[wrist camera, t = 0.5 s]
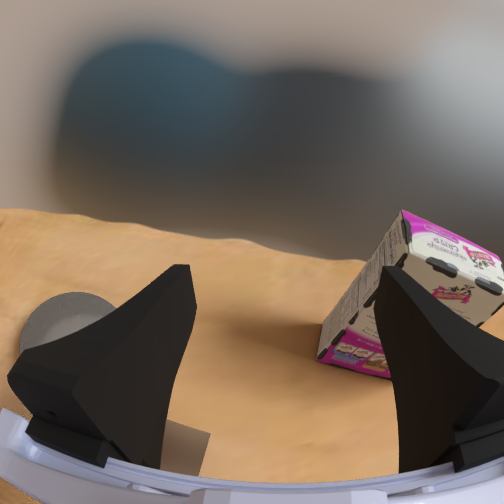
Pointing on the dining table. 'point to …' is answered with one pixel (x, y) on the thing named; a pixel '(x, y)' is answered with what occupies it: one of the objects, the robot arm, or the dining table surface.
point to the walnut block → (183, 449)
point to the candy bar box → (426, 274)
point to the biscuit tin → (62, 317)
